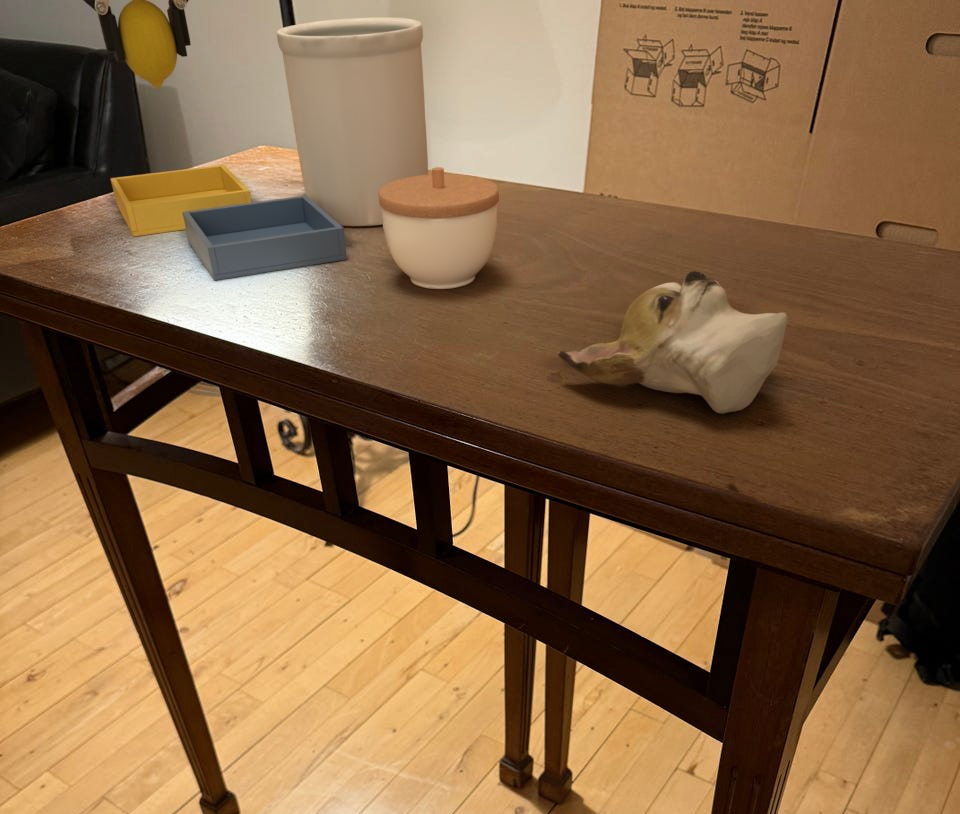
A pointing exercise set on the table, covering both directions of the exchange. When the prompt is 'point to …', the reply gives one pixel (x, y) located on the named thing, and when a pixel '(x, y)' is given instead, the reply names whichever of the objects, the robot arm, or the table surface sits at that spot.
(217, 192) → the yellow tray
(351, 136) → the utensil holder
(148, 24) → the lemon
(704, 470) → the table surface
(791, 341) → the table surface
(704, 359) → the ceramic sculpture
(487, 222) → the trinket box
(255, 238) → the blue tray
